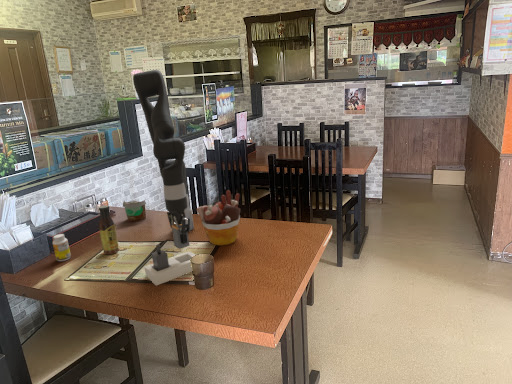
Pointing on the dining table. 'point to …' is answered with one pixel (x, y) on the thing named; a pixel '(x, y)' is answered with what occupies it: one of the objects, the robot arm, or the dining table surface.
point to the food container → (135, 210)
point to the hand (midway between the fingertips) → (181, 241)
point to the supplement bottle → (61, 247)
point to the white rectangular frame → (168, 266)
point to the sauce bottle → (107, 231)
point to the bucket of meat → (221, 220)
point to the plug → (178, 238)
